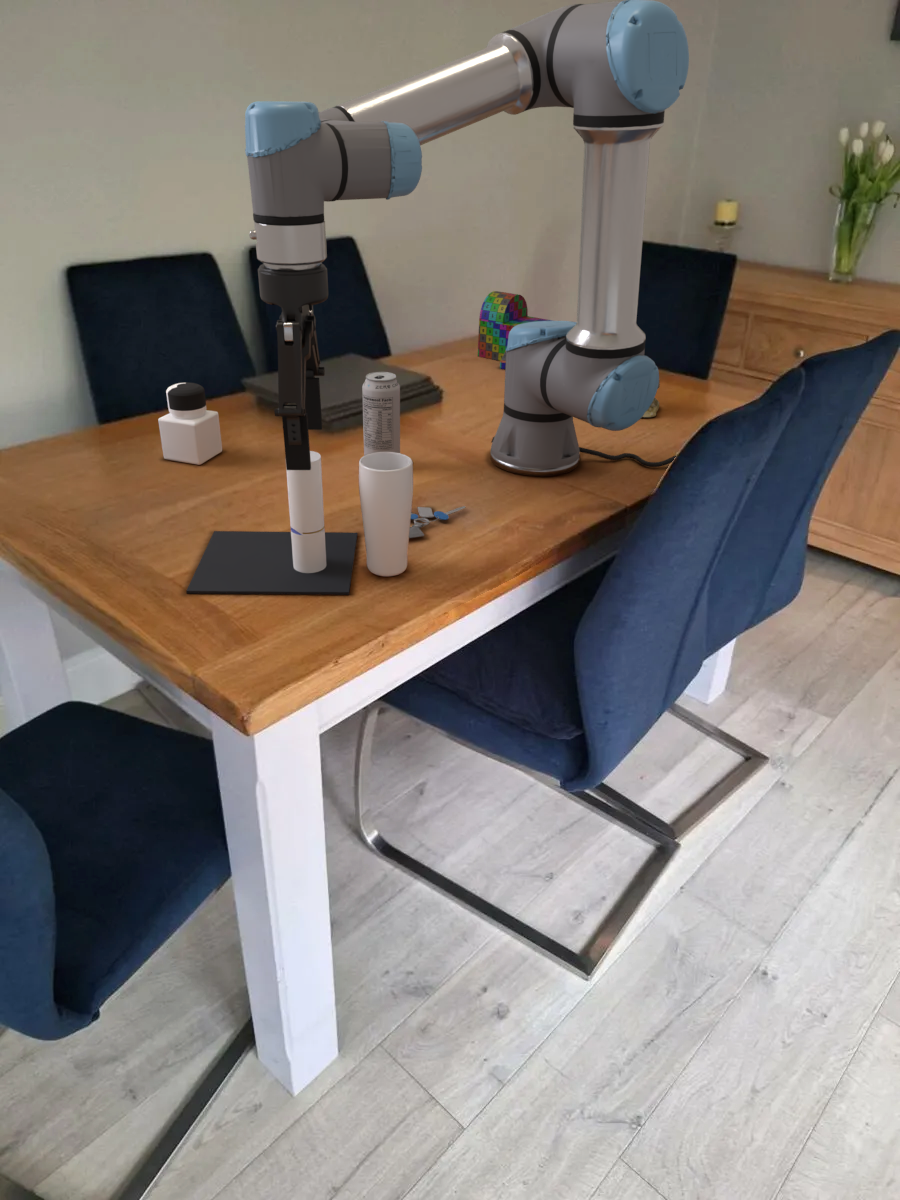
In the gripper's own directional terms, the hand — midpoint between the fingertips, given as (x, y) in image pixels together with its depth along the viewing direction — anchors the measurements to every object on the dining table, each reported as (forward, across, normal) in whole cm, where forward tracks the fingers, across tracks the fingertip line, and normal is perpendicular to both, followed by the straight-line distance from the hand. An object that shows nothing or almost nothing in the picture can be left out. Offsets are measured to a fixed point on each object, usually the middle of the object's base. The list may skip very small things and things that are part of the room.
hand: (305, 448), depth 106 cm
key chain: (+17, -15, +14) cm, 26 cm away
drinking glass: (+17, 0, +10) cm, 19 cm away
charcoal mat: (+16, -1, -5) cm, 17 cm away
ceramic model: (+18, -70, +56) cm, 91 cm away
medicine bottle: (+17, -40, -24) cm, 50 cm away
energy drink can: (+17, -37, +8) cm, 41 cm away
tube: (+16, 0, 0) cm, 16 cm away
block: (+18, -103, +40) cm, 112 cm away
